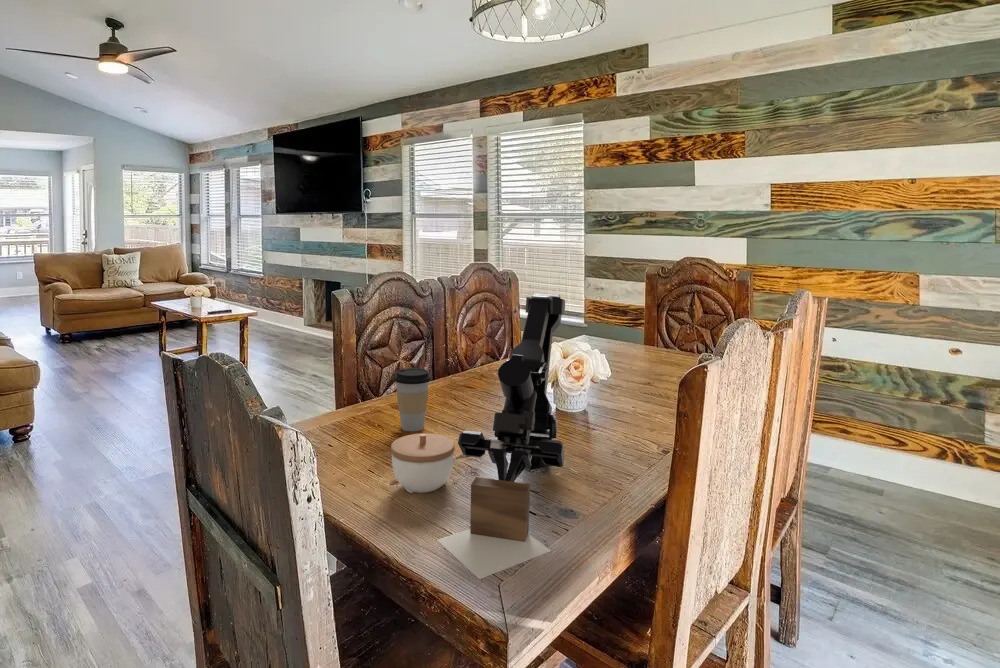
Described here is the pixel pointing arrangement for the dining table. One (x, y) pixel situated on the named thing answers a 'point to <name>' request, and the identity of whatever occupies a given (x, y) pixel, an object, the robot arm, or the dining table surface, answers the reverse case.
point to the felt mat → (490, 551)
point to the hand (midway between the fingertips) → (502, 494)
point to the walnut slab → (500, 509)
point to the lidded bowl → (422, 461)
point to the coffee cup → (412, 397)
